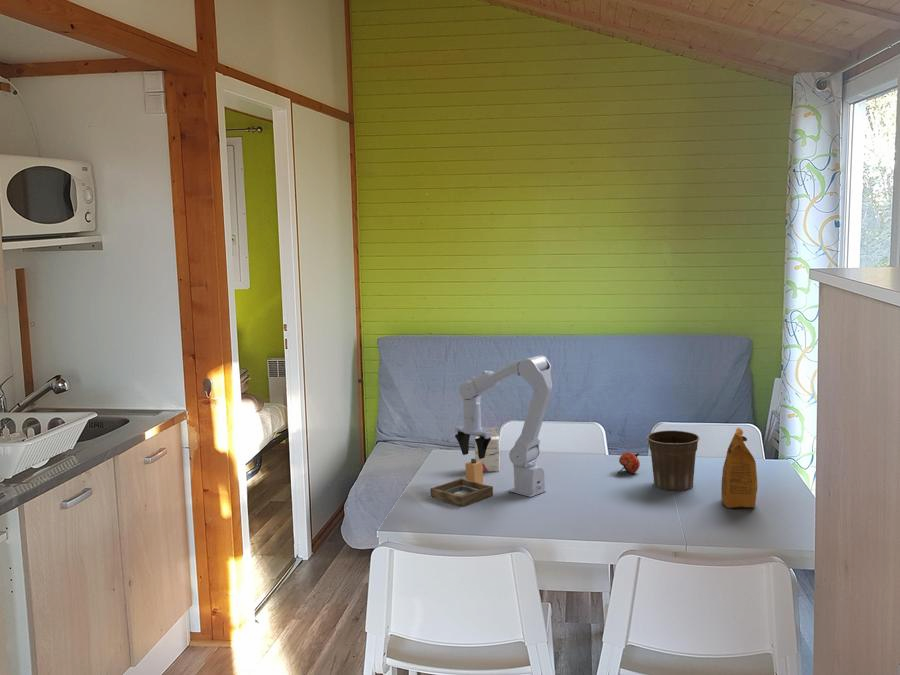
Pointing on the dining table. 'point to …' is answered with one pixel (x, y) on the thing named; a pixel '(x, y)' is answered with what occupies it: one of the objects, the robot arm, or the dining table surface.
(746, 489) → the coffee package
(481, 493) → the walled box
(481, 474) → the tan tall block
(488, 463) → the ink cartridge box
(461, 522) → the dining table surface
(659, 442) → the plant pot
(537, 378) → the robot arm
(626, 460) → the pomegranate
